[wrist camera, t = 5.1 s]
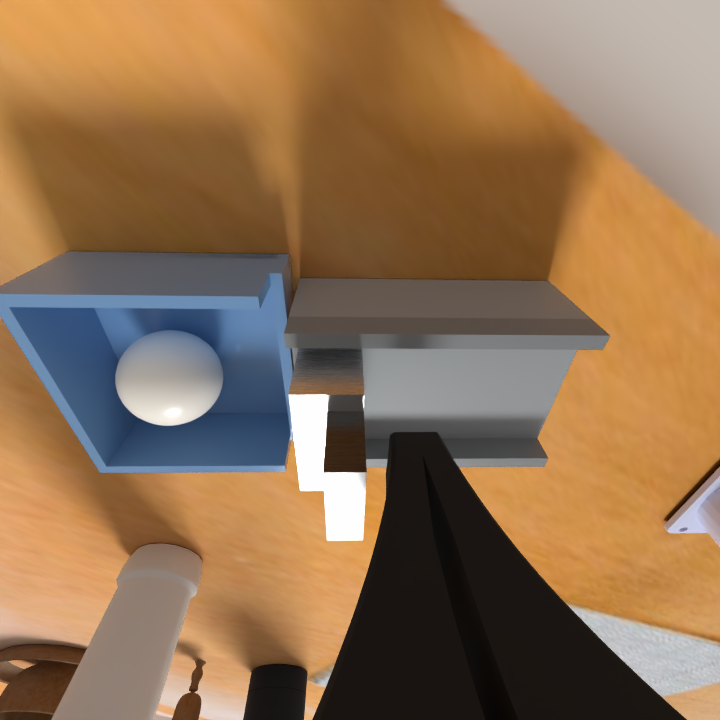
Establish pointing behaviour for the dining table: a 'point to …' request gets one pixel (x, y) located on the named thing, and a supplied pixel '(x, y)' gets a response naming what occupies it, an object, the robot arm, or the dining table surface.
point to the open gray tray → (450, 358)
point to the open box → (151, 314)
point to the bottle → (135, 638)
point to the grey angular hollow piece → (331, 434)
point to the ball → (169, 377)
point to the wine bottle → (276, 693)
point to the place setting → (59, 683)
